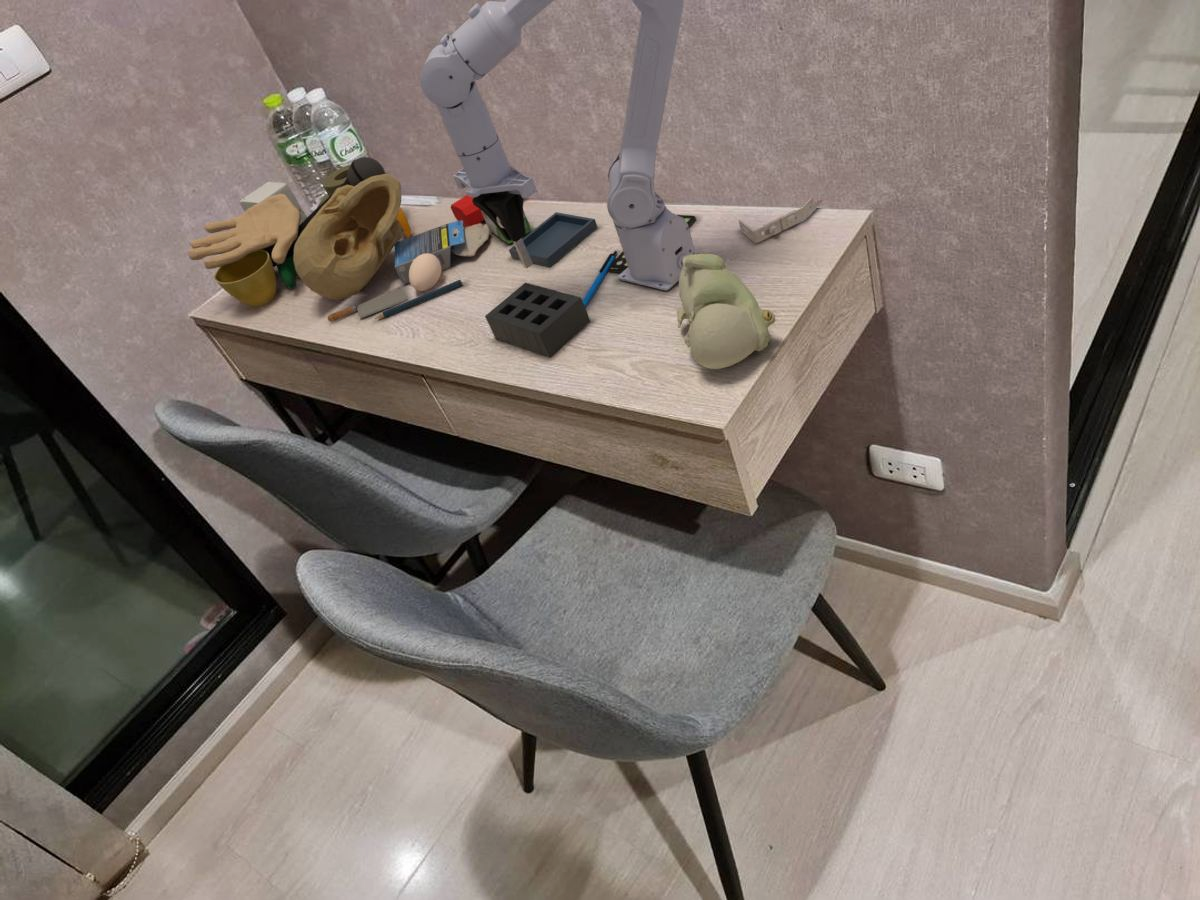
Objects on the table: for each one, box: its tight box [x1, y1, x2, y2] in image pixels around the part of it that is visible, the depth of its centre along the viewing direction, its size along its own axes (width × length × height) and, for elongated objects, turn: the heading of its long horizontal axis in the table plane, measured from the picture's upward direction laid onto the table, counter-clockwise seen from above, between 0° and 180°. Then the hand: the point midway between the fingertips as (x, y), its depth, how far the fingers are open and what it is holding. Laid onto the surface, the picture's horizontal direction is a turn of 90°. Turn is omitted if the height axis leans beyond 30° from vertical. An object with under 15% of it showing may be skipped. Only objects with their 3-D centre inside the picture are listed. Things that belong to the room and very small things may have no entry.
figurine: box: [676, 253, 777, 370], centre depth 101 cm, size 10×16×10 cm
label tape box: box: [394, 220, 465, 286], centre depth 142 cm, size 9×4×12 cm
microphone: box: [298, 156, 386, 236], centre depth 150 cm, size 7×7×20 cm
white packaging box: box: [238, 181, 308, 225], centre depth 162 cm, size 7×7×13 cm
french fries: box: [450, 194, 485, 228], centre depth 150 cm, size 8×4×12 cm
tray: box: [508, 211, 598, 268], centre depth 135 cm, size 9×11×2 cm
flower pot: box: [214, 250, 277, 308], centre depth 152 cm, size 10×10×7 cm
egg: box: [409, 253, 442, 292], centre depth 136 cm, size 5×5×7 cm
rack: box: [484, 282, 591, 358], centre depth 116 cm, size 12×8×4 cm
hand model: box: [187, 194, 301, 270], centre depth 149 cm, size 19×5×20 cm
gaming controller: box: [276, 254, 300, 289], centre depth 155 cm, size 9×4×6 cm
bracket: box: [738, 197, 823, 244], centre depth 118 cm, size 2×6×15 cm
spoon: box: [496, 216, 534, 269], centre depth 117 cm, size 1×3×10 cm, turn 138°
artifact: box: [450, 223, 490, 257], centre depth 142 cm, size 7×3×10 cm
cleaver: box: [327, 285, 409, 323], centre depth 138 cm, size 13×1×5 cm
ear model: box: [293, 173, 403, 300], centre depth 140 cm, size 13×20×20 cm
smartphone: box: [607, 214, 697, 275], centre depth 125 cm, size 7×1×15 cm
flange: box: [317, 163, 389, 208], centre depth 155 cm, size 5×15×15 cm
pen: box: [582, 250, 618, 308], centre depth 121 cm, size 1×19×1 cm, turn 158°
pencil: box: [373, 279, 464, 320], centre depth 134 cm, size 1×1×15 cm
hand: (516, 237), depth 117 cm, fingers closed on spoon, 1 cm apart
